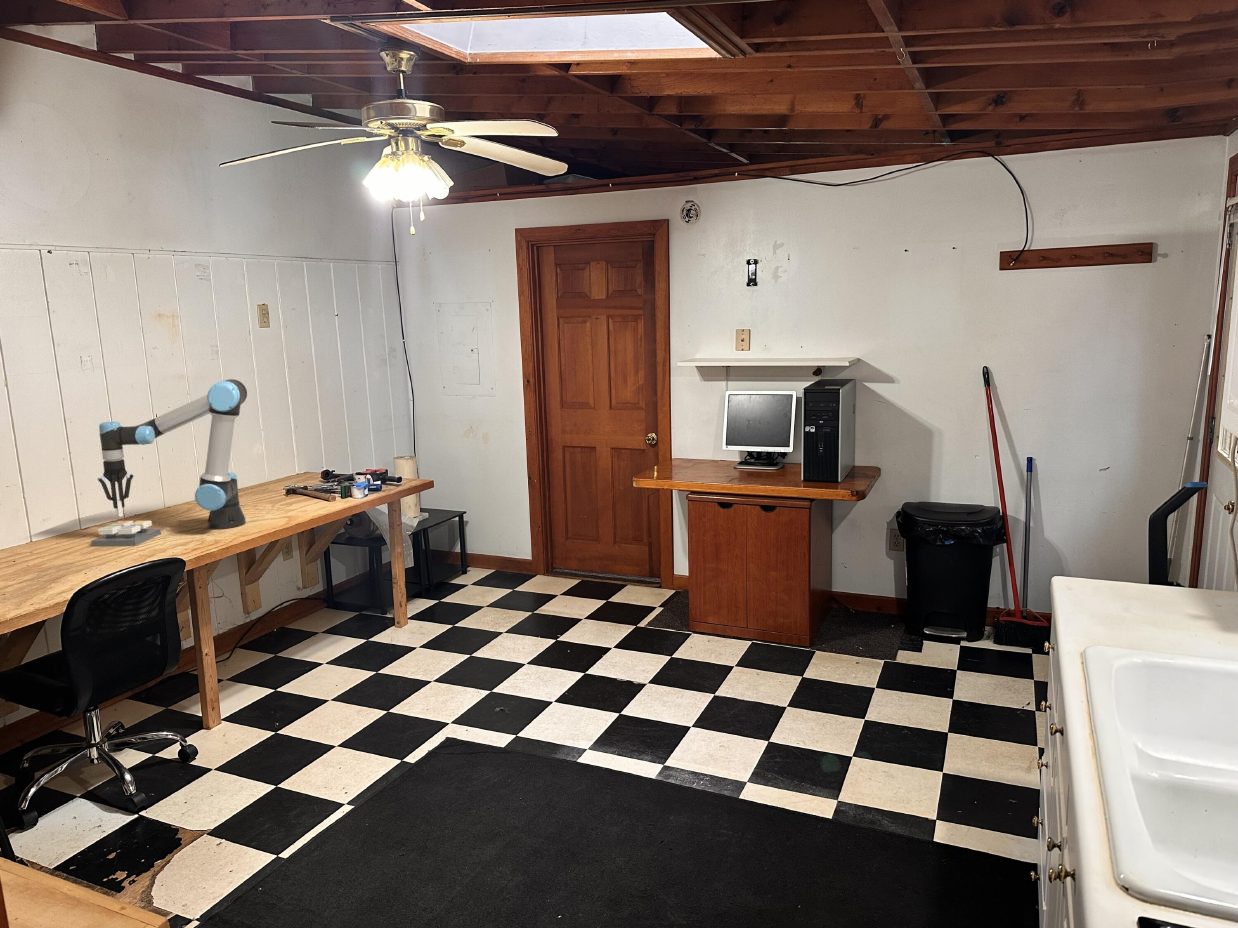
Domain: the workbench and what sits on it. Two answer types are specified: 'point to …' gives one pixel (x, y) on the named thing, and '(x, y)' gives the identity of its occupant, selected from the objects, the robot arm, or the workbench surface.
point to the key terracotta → (122, 523)
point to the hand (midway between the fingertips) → (120, 515)
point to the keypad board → (126, 539)
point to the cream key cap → (142, 525)
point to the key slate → (129, 531)
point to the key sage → (109, 531)
